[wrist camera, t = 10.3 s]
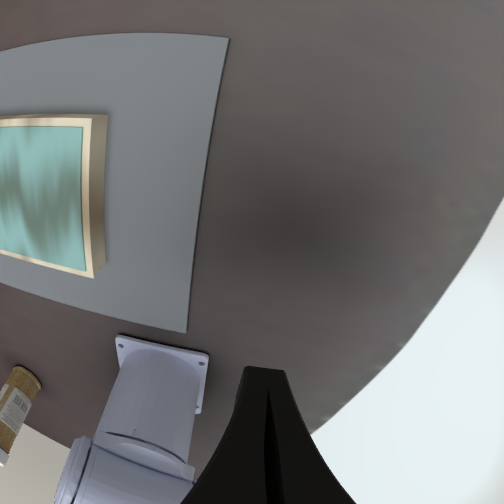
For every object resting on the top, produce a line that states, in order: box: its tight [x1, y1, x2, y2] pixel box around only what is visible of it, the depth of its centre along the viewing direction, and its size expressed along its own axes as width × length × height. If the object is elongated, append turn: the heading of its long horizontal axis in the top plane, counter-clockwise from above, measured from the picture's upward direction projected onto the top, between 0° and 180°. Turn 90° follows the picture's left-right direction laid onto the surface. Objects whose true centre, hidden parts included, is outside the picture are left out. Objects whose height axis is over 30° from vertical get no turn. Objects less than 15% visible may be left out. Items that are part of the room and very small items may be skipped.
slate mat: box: [0, 33, 230, 334], centre depth 17 cm, size 20×22×1 cm
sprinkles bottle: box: [0, 366, 41, 466], centre depth 23 cm, size 5×5×14 cm
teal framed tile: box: [0, 114, 108, 279], centre depth 16 cm, size 10×2×11 cm
